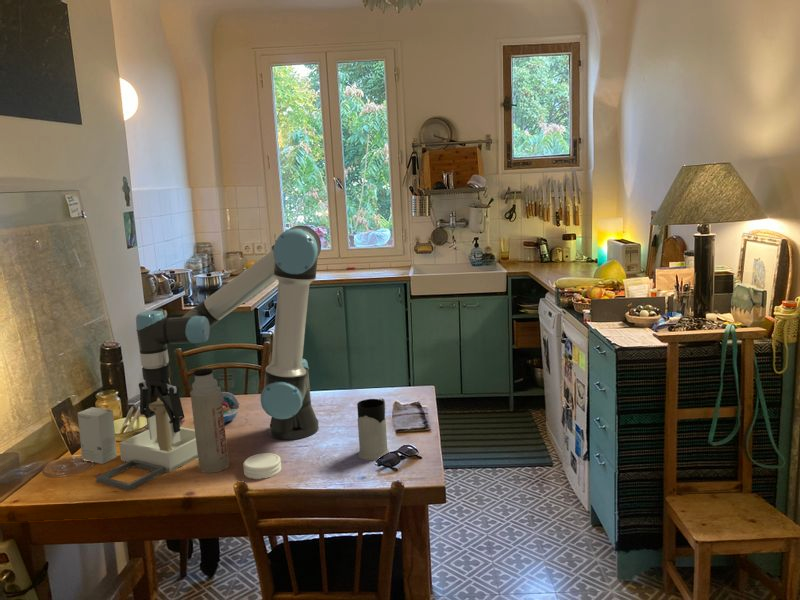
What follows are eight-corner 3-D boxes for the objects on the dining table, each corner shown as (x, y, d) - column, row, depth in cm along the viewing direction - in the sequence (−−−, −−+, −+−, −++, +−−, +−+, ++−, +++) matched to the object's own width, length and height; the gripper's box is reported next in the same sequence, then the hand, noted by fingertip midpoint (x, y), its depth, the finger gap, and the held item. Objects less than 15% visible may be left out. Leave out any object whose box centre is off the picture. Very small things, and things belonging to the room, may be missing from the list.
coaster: (265, 461, 192) (264, 449, 192) (289, 469, 186) (288, 457, 185) (236, 474, 185) (235, 462, 184) (260, 483, 178) (259, 470, 178)
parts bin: (212, 450, 202) (210, 432, 201) (170, 472, 188) (168, 453, 187) (164, 440, 211) (162, 423, 210) (121, 460, 198) (118, 442, 197)
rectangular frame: (165, 472, 188) (164, 466, 188) (129, 490, 178) (128, 485, 178) (133, 464, 194) (132, 459, 194) (96, 482, 184) (96, 477, 184)
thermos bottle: (234, 463, 191) (224, 367, 186) (213, 475, 185) (202, 376, 179) (214, 458, 195) (204, 364, 190) (193, 469, 189) (181, 372, 183)
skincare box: (82, 461, 198) (74, 413, 196) (98, 453, 204) (91, 406, 201) (104, 464, 195) (96, 415, 193) (119, 456, 201) (112, 408, 198)
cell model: (204, 428, 219) (201, 400, 217) (216, 415, 231) (213, 388, 229) (235, 427, 218) (232, 399, 217) (245, 414, 230) (242, 387, 228)
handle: (163, 447, 203) (157, 400, 200) (180, 450, 200) (174, 401, 197) (151, 454, 198) (145, 405, 195) (169, 456, 196) (163, 407, 193)
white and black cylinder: (353, 458, 190) (349, 407, 187) (372, 439, 203) (369, 391, 200) (382, 461, 187) (379, 409, 184) (400, 441, 200) (397, 392, 197)
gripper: (192, 364, 192) (200, 440, 197) (140, 358, 203) (150, 430, 207) (171, 372, 186) (181, 450, 190) (119, 365, 196) (130, 439, 201)
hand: (165, 439), depth 199 cm, fingers open, 8 cm apart
